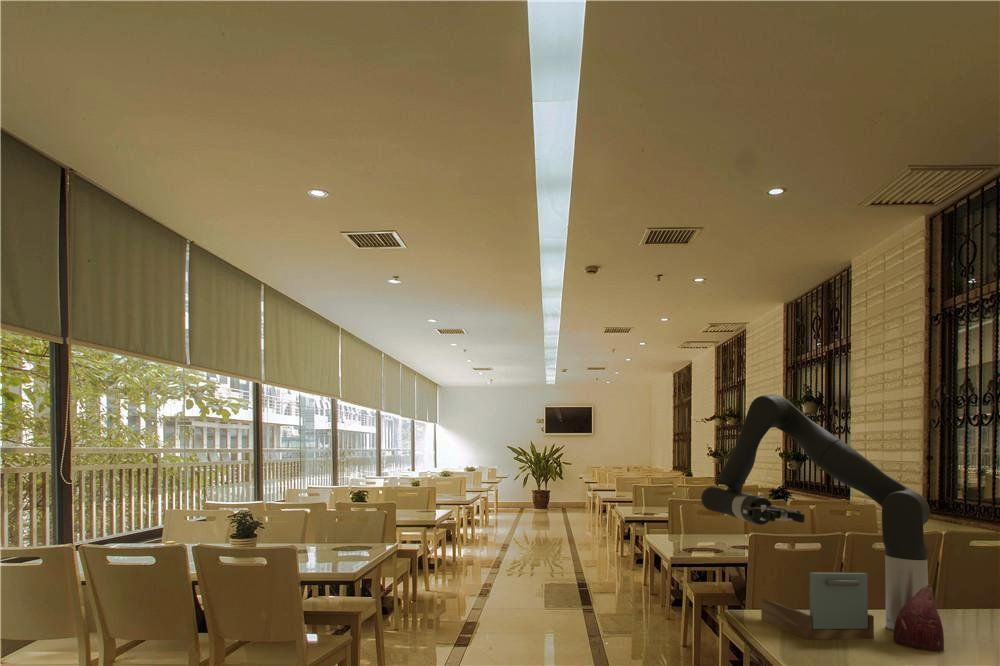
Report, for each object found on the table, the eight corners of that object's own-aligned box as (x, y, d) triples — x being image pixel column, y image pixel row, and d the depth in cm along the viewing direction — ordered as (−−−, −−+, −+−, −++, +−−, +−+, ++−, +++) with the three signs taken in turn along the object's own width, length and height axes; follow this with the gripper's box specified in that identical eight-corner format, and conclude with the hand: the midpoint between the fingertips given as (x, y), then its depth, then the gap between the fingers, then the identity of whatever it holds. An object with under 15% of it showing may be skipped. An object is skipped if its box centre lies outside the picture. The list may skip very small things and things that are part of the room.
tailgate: (864, 627, 180) (863, 572, 182) (871, 630, 178) (871, 575, 180) (809, 627, 177) (809, 572, 179) (816, 630, 175) (816, 574, 176)
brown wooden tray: (823, 619, 197) (823, 598, 197) (873, 638, 179) (873, 615, 180) (761, 619, 193) (761, 598, 193) (806, 639, 175) (806, 616, 176)
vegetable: (930, 655, 180) (942, 590, 183) (951, 662, 170) (963, 593, 173) (883, 640, 181) (896, 575, 185) (901, 645, 171) (914, 577, 175)
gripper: (729, 493, 213) (765, 501, 198) (775, 495, 217) (813, 504, 201) (728, 521, 212) (763, 532, 197) (773, 523, 216) (812, 533, 201)
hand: (788, 517), depth 199 cm, fingers open, 8 cm apart
